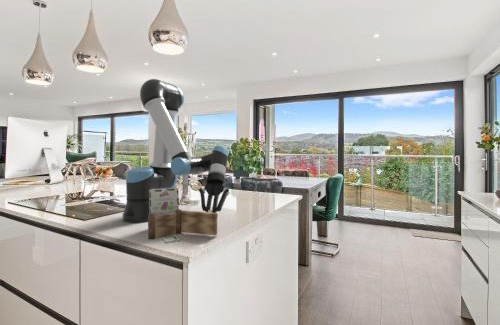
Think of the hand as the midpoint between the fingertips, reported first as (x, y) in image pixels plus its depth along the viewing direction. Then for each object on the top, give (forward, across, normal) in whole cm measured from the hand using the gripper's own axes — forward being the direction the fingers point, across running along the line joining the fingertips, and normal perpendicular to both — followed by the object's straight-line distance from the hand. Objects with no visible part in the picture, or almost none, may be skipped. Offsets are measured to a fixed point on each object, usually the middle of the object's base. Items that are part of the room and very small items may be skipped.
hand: (208, 226), depth 107 cm
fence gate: (+3, +3, 0) cm, 4 cm away
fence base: (+5, +15, +1) cm, 16 cm away
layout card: (+7, +12, +4) cm, 15 cm away
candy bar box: (-1, +20, -6) cm, 21 cm away
